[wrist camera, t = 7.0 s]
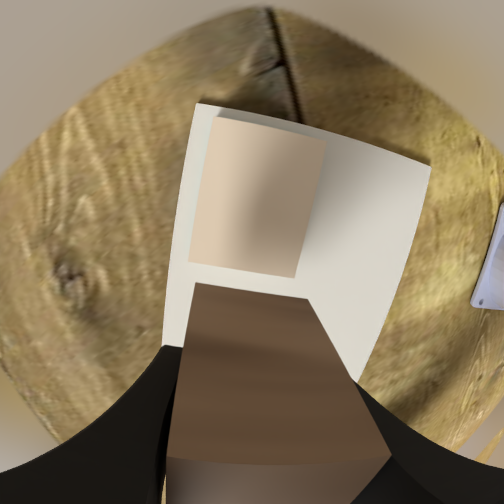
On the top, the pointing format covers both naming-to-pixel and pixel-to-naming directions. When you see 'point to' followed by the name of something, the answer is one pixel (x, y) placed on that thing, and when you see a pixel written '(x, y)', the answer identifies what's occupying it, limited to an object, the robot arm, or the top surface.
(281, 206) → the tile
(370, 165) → the mat
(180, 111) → the top surface
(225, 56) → the top surface
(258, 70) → the top surface
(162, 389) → the robot arm
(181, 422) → the walnut block
